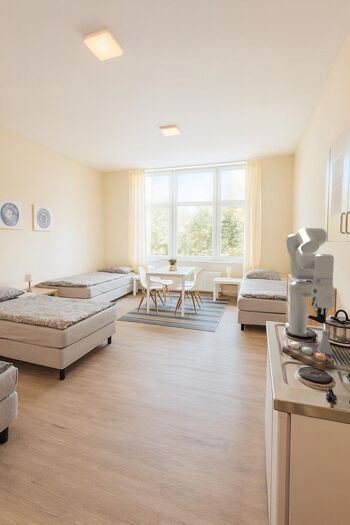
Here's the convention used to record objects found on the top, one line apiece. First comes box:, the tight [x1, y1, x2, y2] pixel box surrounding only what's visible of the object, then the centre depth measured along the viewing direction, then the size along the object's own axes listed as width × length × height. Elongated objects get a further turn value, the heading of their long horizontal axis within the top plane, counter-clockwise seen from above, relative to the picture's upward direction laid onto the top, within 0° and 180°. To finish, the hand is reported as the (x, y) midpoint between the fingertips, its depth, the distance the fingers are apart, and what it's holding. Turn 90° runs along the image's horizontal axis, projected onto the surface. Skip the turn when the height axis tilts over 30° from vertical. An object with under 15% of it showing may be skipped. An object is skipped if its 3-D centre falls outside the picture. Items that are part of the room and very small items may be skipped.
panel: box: [281, 344, 335, 370], centre depth 125 cm, size 20×10×3 cm, turn 25°
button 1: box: [289, 341, 300, 350], centre depth 131 cm, size 4×4×3 cm
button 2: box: [302, 346, 313, 356], centre depth 125 cm, size 4×4×3 cm
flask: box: [317, 331, 333, 356], centre depth 131 cm, size 7×7×10 cm
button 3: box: [315, 352, 327, 362], centre depth 118 cm, size 4×4×3 cm
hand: (321, 322), depth 119 cm, fingers closed
